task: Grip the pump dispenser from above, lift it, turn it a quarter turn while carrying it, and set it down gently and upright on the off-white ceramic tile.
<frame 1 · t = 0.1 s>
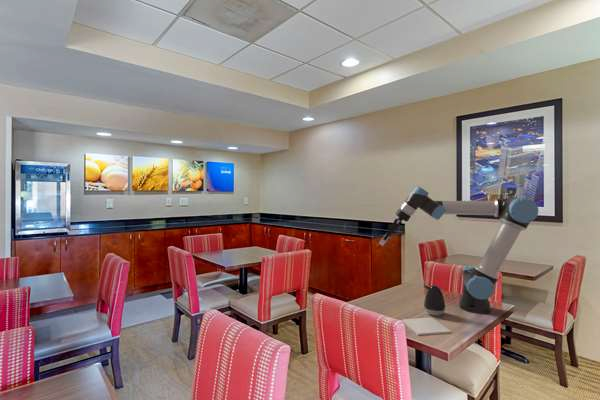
hand: (382, 242, 178), 36 cm above the table, tool tilted 35°, fingers open, 13 cm apart
pump dispenser: (434, 314, 166), on the table
ceramic tile: (425, 326, 151), on the table
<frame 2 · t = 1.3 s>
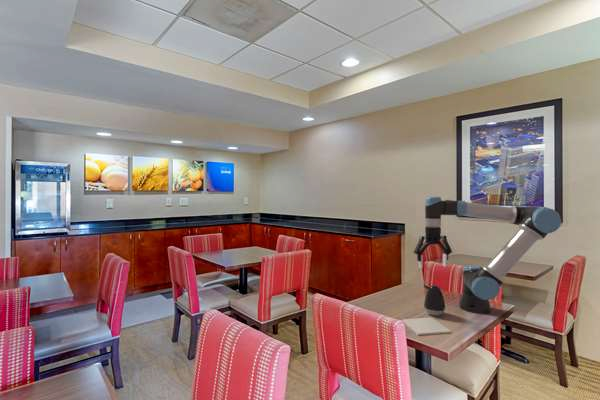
hand: (432, 267, 166), 25 cm above the table, tool pointing down, fingers open, 13 cm apart
nothing on the table moved.
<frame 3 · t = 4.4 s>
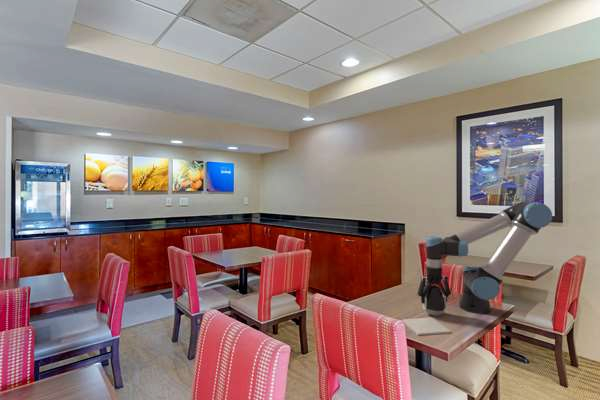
hand: (434, 308, 166), 3 cm above the table, tool pointing down, fingers closed on pump dispenser, 10 cm apart
pump dispenser: (434, 314, 166), on the table, touching gripper
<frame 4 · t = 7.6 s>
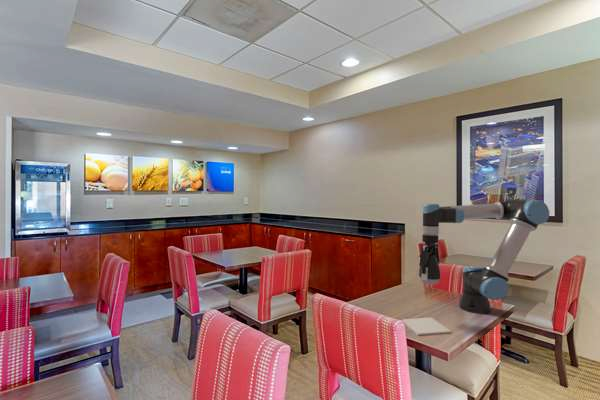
hand: (429, 278, 160), 20 cm above the table, tool pointing down, fingers closed on pump dispenser, 10 cm apart
pump dispenser: (429, 284, 160), point 17 cm above the table, touching gripper
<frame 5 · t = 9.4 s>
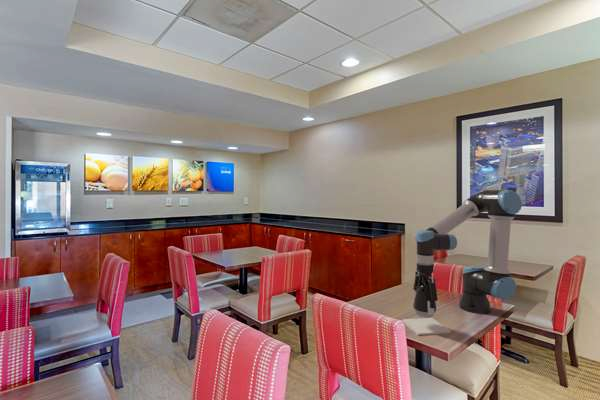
hand: (424, 310, 151), 8 cm above the table, tool pointing down, fingers closed on pump dispenser, 10 cm apart
pump dispenser: (424, 316, 151), point 5 cm above the table, touching gripper
when the fingers open (5 cm above the table, at t = 11.0 s): pump dispenser stays where it is, resting on ceramic tile.
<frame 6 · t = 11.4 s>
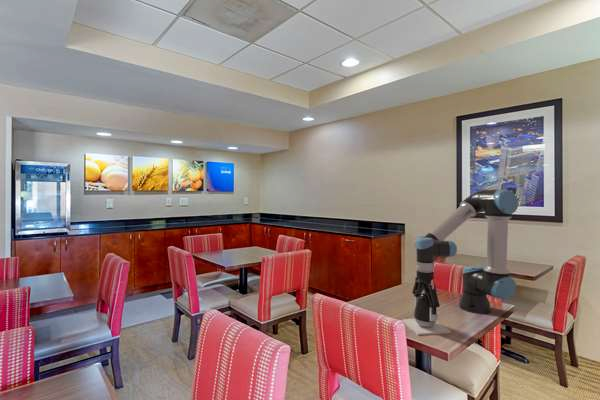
hand: (425, 315, 151), 6 cm above the table, tool pointing down, fingers open, 13 cm apart
pump dispenser: (425, 325, 151), point 1 cm above the table, touching ceramic tile
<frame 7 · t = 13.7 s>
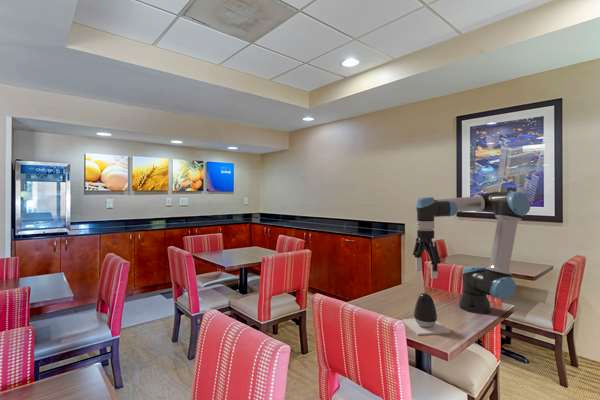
hand: (426, 274, 151), 25 cm above the table, tool pointing down, fingers open, 13 cm apart
nothing on the table moved.
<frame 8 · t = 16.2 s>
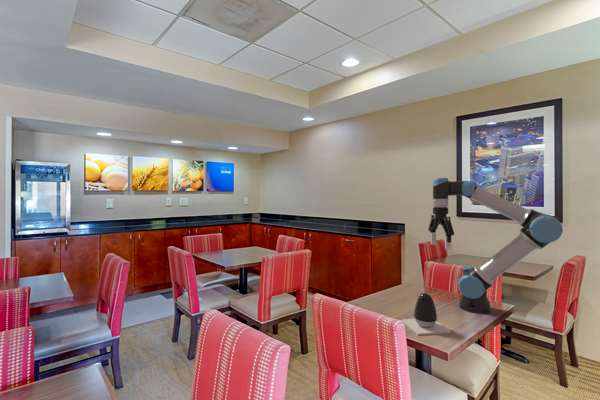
hand: (440, 246, 170), 35 cm above the table, tool pointing down, fingers open, 13 cm apart
nothing on the table moved.
at the end: pump dispenser inside the target area on the ceramic tile (0.1 cm from its centre), point 0.6 cm above the ceramic tile's base; pump dispenser tilted 0°; the gripper is holding nothing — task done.
